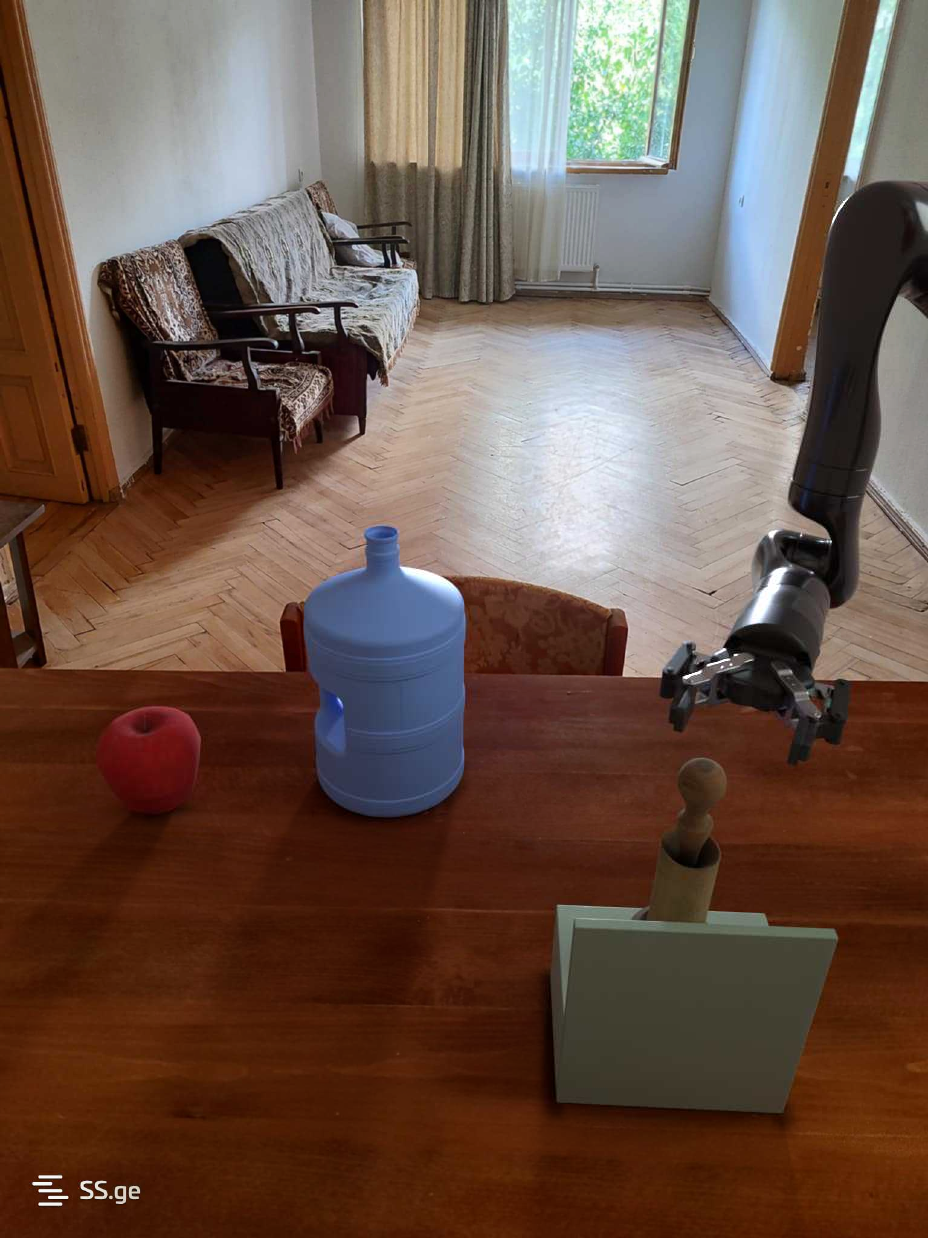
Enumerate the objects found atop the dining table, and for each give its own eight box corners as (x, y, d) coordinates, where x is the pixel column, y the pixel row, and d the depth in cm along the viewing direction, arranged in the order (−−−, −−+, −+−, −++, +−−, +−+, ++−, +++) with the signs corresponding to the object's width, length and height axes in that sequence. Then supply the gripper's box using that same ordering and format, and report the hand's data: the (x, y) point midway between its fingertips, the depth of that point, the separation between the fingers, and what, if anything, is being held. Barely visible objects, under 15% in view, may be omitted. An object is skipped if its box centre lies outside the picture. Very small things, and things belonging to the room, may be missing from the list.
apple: (192, 760, 96) (177, 676, 91) (223, 810, 89) (209, 723, 84) (98, 792, 91) (76, 706, 86) (123, 848, 84) (101, 759, 79)
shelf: (747, 984, 72) (789, 816, 63) (782, 1114, 62) (838, 939, 54) (550, 975, 72) (564, 808, 63) (556, 1103, 63) (574, 927, 54)
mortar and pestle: (708, 1012, 60) (754, 811, 51) (614, 983, 62) (643, 785, 53) (719, 938, 66) (762, 745, 57) (633, 914, 68) (661, 723, 59)
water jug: (475, 736, 100) (479, 506, 86) (448, 831, 87) (449, 577, 73) (342, 721, 102) (326, 494, 89) (297, 811, 89) (269, 561, 75)
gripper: (701, 585, 79) (647, 672, 67) (870, 622, 74) (847, 724, 61) (690, 656, 83) (637, 751, 71) (850, 696, 78) (824, 807, 65)
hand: (735, 738), depth 66 cm, fingers open, 8 cm apart
